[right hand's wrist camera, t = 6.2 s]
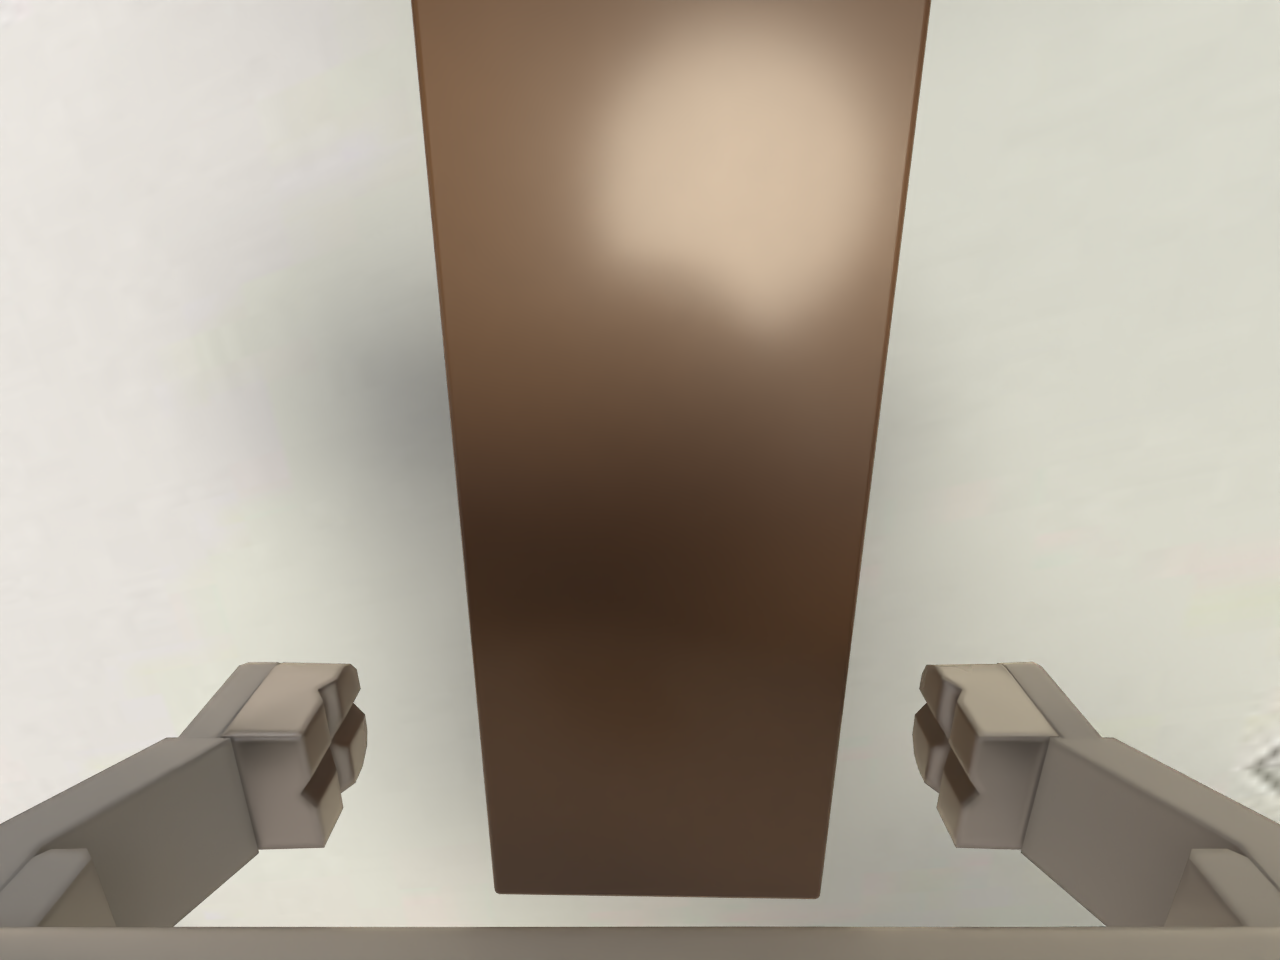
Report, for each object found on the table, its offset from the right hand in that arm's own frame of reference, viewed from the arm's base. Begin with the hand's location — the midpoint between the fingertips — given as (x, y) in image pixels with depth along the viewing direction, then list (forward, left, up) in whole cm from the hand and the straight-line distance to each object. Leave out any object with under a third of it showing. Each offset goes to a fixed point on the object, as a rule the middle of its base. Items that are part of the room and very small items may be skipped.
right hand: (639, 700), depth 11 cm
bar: (+9, 0, -8) cm, 12 cm away
